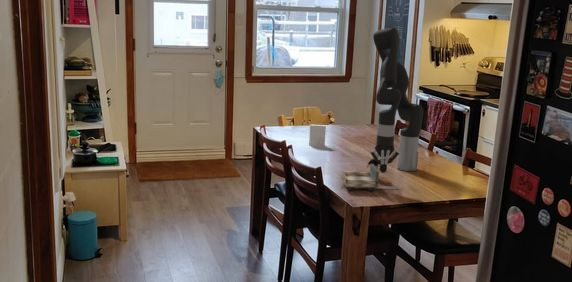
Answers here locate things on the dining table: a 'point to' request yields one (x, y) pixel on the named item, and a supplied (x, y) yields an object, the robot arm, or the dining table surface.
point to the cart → (361, 179)
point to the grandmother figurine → (374, 162)
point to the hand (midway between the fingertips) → (382, 172)
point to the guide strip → (375, 187)
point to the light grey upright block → (317, 136)
